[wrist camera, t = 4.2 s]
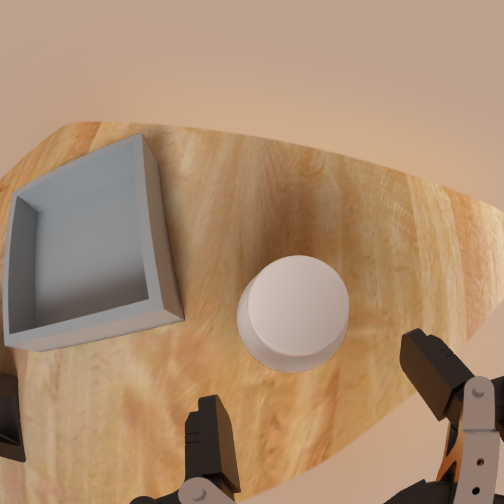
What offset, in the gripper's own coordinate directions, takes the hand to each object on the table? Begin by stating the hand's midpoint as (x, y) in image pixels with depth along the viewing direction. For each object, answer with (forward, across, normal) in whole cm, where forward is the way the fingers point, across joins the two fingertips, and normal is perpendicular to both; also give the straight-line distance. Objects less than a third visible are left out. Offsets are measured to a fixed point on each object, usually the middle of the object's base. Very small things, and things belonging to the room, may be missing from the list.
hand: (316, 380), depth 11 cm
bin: (+15, +14, -3) cm, 21 cm away
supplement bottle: (+8, 0, +4) cm, 9 cm away
